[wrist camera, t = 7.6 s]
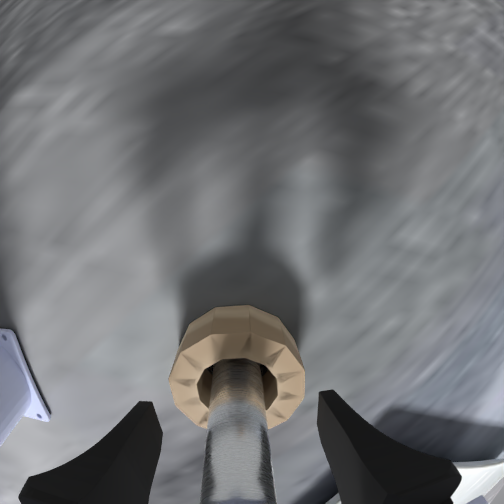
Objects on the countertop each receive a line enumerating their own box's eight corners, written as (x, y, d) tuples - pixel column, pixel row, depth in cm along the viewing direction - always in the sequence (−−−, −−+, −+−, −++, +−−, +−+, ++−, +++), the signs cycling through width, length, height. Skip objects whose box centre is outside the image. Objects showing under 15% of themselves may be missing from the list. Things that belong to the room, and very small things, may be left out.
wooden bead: (190, 402, 17) (184, 435, 14) (171, 309, 16) (158, 336, 13) (295, 395, 17) (303, 428, 15) (293, 300, 16) (305, 326, 13)
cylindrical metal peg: (221, 375, 17) (212, 528, 7) (210, 341, 16) (188, 498, 7) (262, 367, 17) (283, 522, 7) (253, 332, 16) (270, 491, 7)
